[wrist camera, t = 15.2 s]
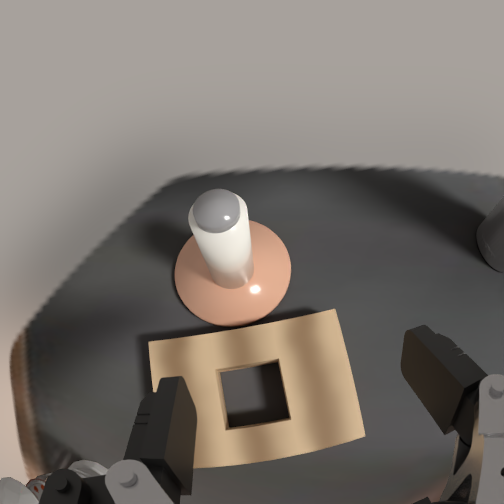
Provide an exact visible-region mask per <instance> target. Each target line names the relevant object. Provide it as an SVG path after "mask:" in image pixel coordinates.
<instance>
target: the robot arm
mask: <svg viewBox="0 0 504 504" xmlns="http://www.w3.org/2000/svg"><path fill="white" fill-rule="evenodd" d="M476 237H477V243H478V247H479V250H480V252H481V254H482V256H483V257H484V259H485V260H486V262H487V263H488V264H489V265H490V266H491V267H492V268H494V269H495V270H497V271H499V272H504V196H503V198H502V199H501V200H500V201H499V203H498V204H497V205H496V206H495V208H494V209H493V210H492V211H491V212H490V214H489V215H488V216H487V217H486V218H485V219H484V221H483V222H482V223H481V224H480V225H479V227H478V229H477V234H476ZM401 371H402V374H403V376H404V378H405V380H406V381H407V382H408V384H409V385H410V386H411V388H412V389H413V391H414V392H415V393H416V395H417V396H418V398H419V399H420V400H421V402H422V403H423V405H424V406H425V407H426V409H427V410H428V412H429V413H430V415H431V416H432V417H433V419H434V420H435V422H436V423H437V425H438V426H439V428H440V429H441V430H442V432H443V433H444V435H446V434H448V433H450V432H452V431H454V430H456V431H457V433H458V435H457V437H456V441H455V447H454V453H453V459H452V464H451V469H450V474H449V479H448V482H447V485H446V487H445V489H444V491H443V493H442V495H441V498H440V501H439V502H433V503H431V502H430V500H429V498H428V497H426V498H424V499H422V500H420V501H418V502H415V503H413V504H504V376H503V375H498V374H493V375H489V376H488V375H487V374H486V373H485V372H484V371H483V370H482V369H481V368H480V367H479V366H478V365H477V364H476V363H475V362H474V361H473V360H472V359H471V358H470V357H469V356H468V355H467V354H464V352H463V351H462V350H461V349H460V348H458V346H457V345H456V344H455V343H454V342H453V341H452V340H451V339H449V338H447V337H445V336H443V335H441V334H435V333H434V332H433V331H432V330H431V329H430V328H429V327H428V326H426V325H422V326H419V327H416V328H413V329H410V330H407V331H406V332H405V335H404V343H403V351H402V358H401ZM134 423H135V425H133V429H132V432H131V435H130V439H129V442H128V445H127V449H126V452H125V456H124V459H123V460H122V461H119V462H117V463H115V464H114V465H113V466H111V467H110V468H109V470H108V471H107V473H106V474H105V475H101V476H94V477H87V478H81V477H80V476H79V475H78V474H77V473H76V472H74V471H72V470H70V469H60V470H57V471H55V472H53V473H52V474H51V475H50V476H49V477H48V479H47V480H46V483H45V486H44V489H43V492H42V495H41V498H40V501H39V504H180V495H191V492H192V478H193V465H194V453H195V441H196V430H197V412H196V407H195V404H194V402H193V400H192V397H191V395H190V392H189V390H188V387H187V385H186V382H185V380H184V378H183V377H182V376H175V377H163V378H161V379H160V381H159V384H158V388H157V391H156V392H149V393H148V394H147V395H146V397H145V398H144V399H143V400H142V401H141V403H140V406H139V409H138V412H137V416H136V419H135V422H134Z"/></svg>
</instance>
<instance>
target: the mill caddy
mask: <svg viewBox="0 0 504 504" xmlns="http://www.w3.org/2000/svg"><path fill="white" fill-rule="evenodd" d="M149 355H150V366H151V375H152V384H153V392H156V391H157V388H158V384H159V381H160V379H161V378H163V377H175V376H182V377H183V378H184V380H185V382H186V385H187V387H188V390H189V392H190V395H191V397H192V400H193V402H194V404H195V407H196V412H197V430H196V441H195V453H194V465H193V468H206V467H220V466H230V465H239V464H247V463H254V462H261V461H267V460H273V459H279V458H284V457H289V456H294V455H299V454H303V453H308V452H312V451H316V450H320V449H324V448H328V447H331V446H335V445H338V444H342V443H345V442H349V441H352V440H355V439H358V438H361V437H364V436H365V432H364V426H363V422H362V417H361V412H360V407H359V403H358V398H357V394H356V389H355V385H354V381H353V376H352V372H351V368H350V364H349V360H348V356H347V352H346V348H345V344H344V340H343V336H342V332H341V329H340V325H339V321H338V318H337V314H336V310H335V309H332V310H328V311H324V312H319V313H315V314H310V315H306V316H301V317H296V318H292V319H287V320H282V321H277V322H272V323H267V324H261V325H256V326H251V327H245V328H239V329H234V330H228V331H222V332H216V333H209V334H203V335H196V336H189V337H182V338H175V339H167V340H159V341H151V342H149ZM276 362H278V364H279V369H280V374H281V379H282V384H283V388H284V393H285V398H286V403H287V408H288V413H289V418H286V419H281V420H276V421H271V422H265V423H259V424H253V425H246V426H239V427H232V428H229V422H228V417H227V411H226V406H225V400H224V394H223V388H222V382H221V376H220V372H224V371H230V370H237V369H243V368H249V367H255V366H260V365H265V364H271V363H276Z"/></svg>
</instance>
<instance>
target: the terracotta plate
mask: <svg viewBox="0 0 504 504" xmlns="http://www.w3.org/2000/svg"><path fill="white" fill-rule="evenodd" d="M249 228H250V237H251V245H252V254H253V262H254V273H253V276H252V278H251V279H250V281H249V282H248V283H247V284H245V285H244V286H242V287H240V288H236V289H226V288H223V287H221V286H219V285H218V284H216V283H215V282H214V280H213V278H212V276H211V274H210V272H209V269H208V267H207V265H206V263H205V260H204V258H203V256H202V253H201V251H200V249H199V246H198V244H197V242H196V239H195V237H194V235H193V236H192V237H191V238H190V239H189V240H188V241H187V242H186V244H185V245H184V246H183V248H182V250H181V251H180V254H179V256H178V258H177V262H176V266H175V283H176V288H177V291H178V293H179V296H180V298H181V299H182V301H183V302H184V304H185V305H186V306H187V307H188V309H189V310H190V311H191V312H192V313H193V314H195V315H196V316H197V317H199V318H200V319H202V320H204V321H206V322H208V323H210V324H214V325H217V326H223V327H238V326H244V325H248V324H251V323H254V322H257V321H259V320H260V319H262V318H264V317H265V316H267V315H268V314H270V313H271V312H272V311H273V310H274V309H275V308H276V307H277V306H278V305H279V303H280V302H281V301H282V299H283V297H284V296H285V294H286V291H287V289H288V286H289V282H290V275H291V263H290V258H289V255H288V252H287V249H286V247H285V245H284V244H283V242H282V241H281V239H280V238H279V237H278V236H277V235H276V234H275V233H274V232H272V231H271V230H270V229H268V228H267V227H265V226H263V225H261V224H259V223H256V222H253V221H250V220H249Z"/></svg>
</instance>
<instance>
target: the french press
mask: <svg viewBox="0 0 504 504" xmlns="http://www.w3.org/2000/svg"><path fill="white" fill-rule="evenodd" d="M68 469H70V470H72V471H74V472H76V473H77V474H78V475H79V476H80V477H81V478H87V477H94V476H101V475H105V474H106V473H107V471H108V469H106V468H105V467H103V466H101V465H100V464H98V463H97V462H92V461H88V460H81V461H76V462H74V463H73V464H72V465H71V466H70V467H69V468H68ZM51 474H52V473H49V474H44V475H40V476H37V477H36V478H35V479H31V480H30V481H29V482H28V483H27V484H26V486H25V485H23V484H22V483H21V482H19V481H17V480H15V479H13V478H11V477H7V478H2V479H1V480H0V504H39V501H40V498H41V495H42V492H43V489H44V486H45V483H46V481H45V479H46V478H47V476H48V475H49V476H50V475H51Z"/></svg>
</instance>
